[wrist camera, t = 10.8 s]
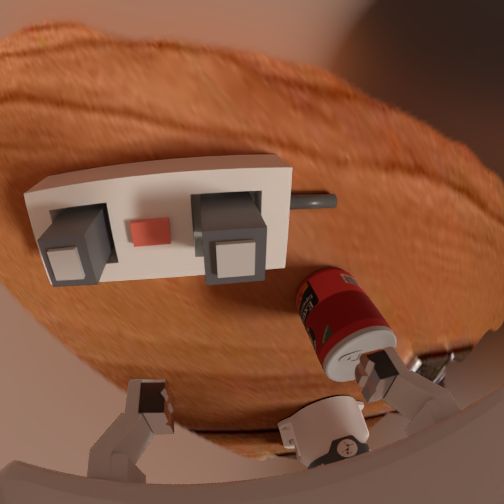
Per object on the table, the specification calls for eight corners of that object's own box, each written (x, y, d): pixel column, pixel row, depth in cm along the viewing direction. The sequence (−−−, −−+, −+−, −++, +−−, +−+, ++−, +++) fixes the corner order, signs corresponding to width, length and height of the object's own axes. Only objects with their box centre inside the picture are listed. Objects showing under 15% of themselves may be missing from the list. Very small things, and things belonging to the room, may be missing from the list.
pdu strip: (326, 237, 32) (366, 289, 24) (67, 257, 27) (34, 315, 19) (335, 155, 27) (389, 185, 19) (47, 176, 23) (-4, 215, 15)
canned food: (289, 276, 33) (324, 348, 24) (353, 257, 34) (403, 318, 24) (296, 322, 37) (325, 391, 28) (353, 304, 38) (391, 365, 28)
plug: (246, 229, 27) (266, 283, 20) (202, 232, 27) (206, 289, 19) (246, 187, 25) (268, 229, 18) (199, 190, 25) (202, 234, 17)
